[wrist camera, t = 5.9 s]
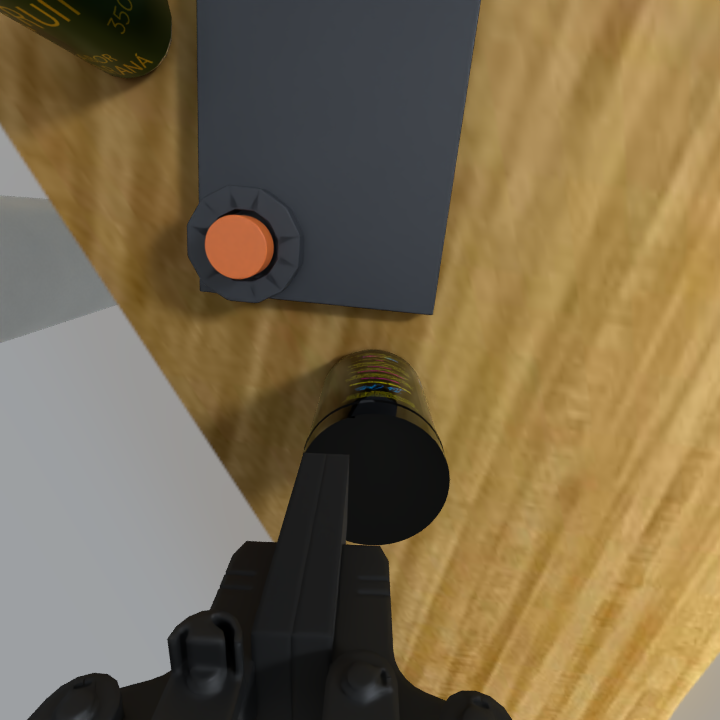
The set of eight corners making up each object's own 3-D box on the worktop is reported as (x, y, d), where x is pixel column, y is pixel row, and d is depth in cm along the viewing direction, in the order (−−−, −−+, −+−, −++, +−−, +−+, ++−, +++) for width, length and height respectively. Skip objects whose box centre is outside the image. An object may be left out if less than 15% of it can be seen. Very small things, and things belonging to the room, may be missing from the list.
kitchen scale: (206, 288, 27) (187, 296, 24) (204, -22, 22) (180, -58, 20) (429, 311, 27) (436, 322, 25) (475, 7, 23) (490, -24, 20)
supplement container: (309, 359, 29) (277, 433, 19) (409, 334, 28) (432, 396, 18) (337, 448, 30) (322, 558, 21) (431, 426, 30) (463, 529, 20)
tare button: (215, 272, 24) (204, 276, 23) (215, 212, 23) (204, 211, 22) (272, 278, 24) (265, 282, 23) (275, 218, 23) (267, 218, 22)
